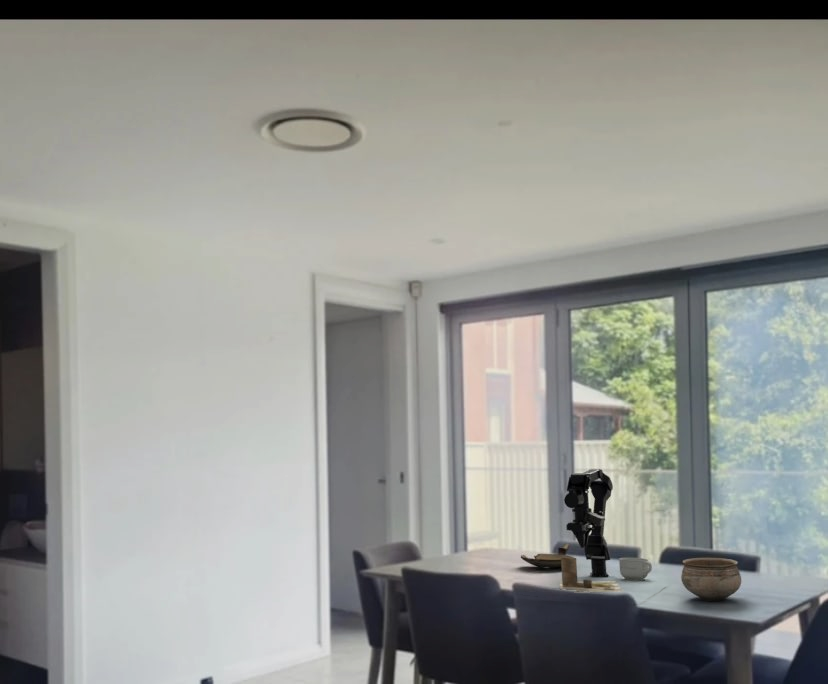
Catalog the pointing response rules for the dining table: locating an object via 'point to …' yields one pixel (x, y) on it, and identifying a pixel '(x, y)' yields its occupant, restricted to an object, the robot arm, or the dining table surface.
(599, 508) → the robot arm
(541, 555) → the oil lamp
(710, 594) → the cooking pot
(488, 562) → the dining table surface
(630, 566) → the teacup
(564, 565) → the brown piece
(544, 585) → the dining table surface
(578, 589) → the dial board
